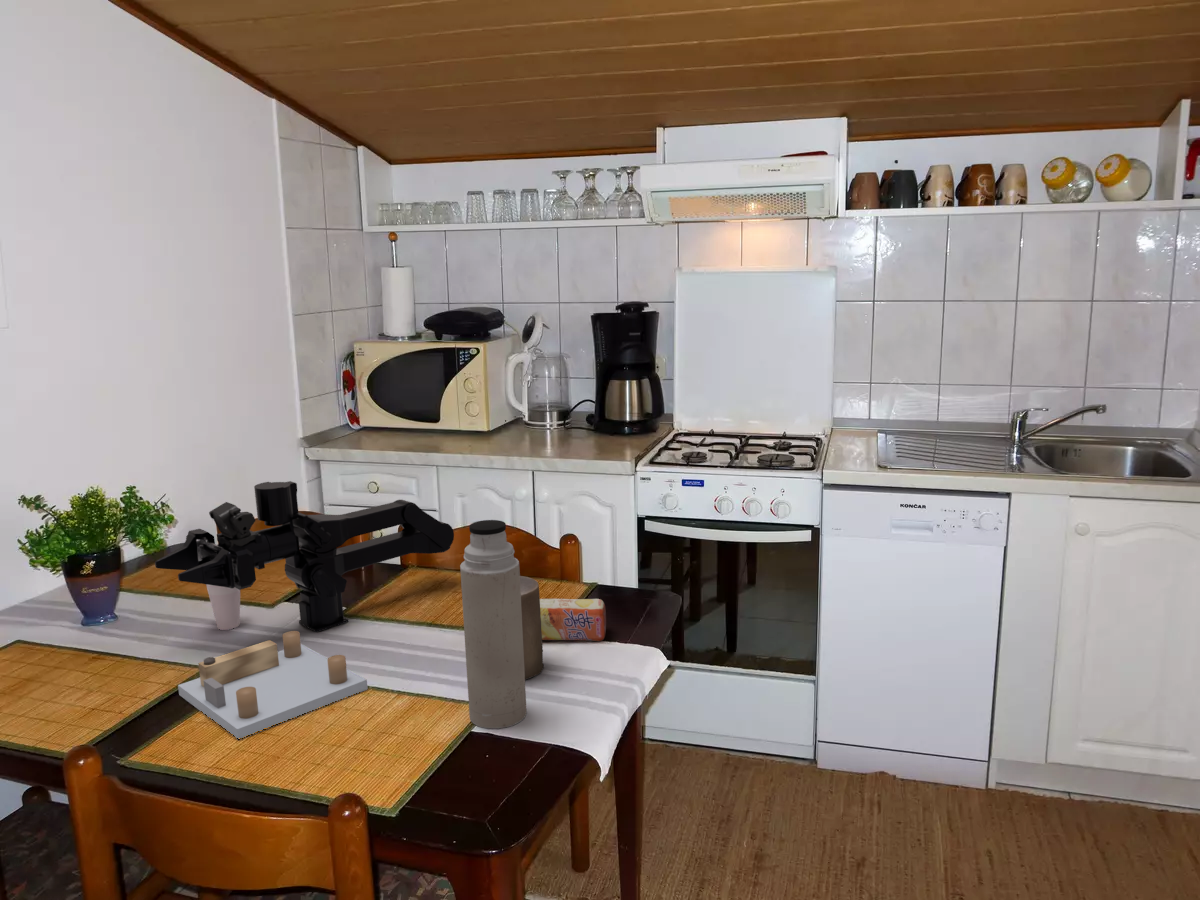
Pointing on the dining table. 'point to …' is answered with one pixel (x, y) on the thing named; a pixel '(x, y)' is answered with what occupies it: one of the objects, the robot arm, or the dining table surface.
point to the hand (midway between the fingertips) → (166, 571)
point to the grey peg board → (275, 689)
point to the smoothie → (225, 606)
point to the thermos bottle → (493, 627)
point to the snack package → (573, 619)
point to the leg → (239, 663)
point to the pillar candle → (531, 627)
